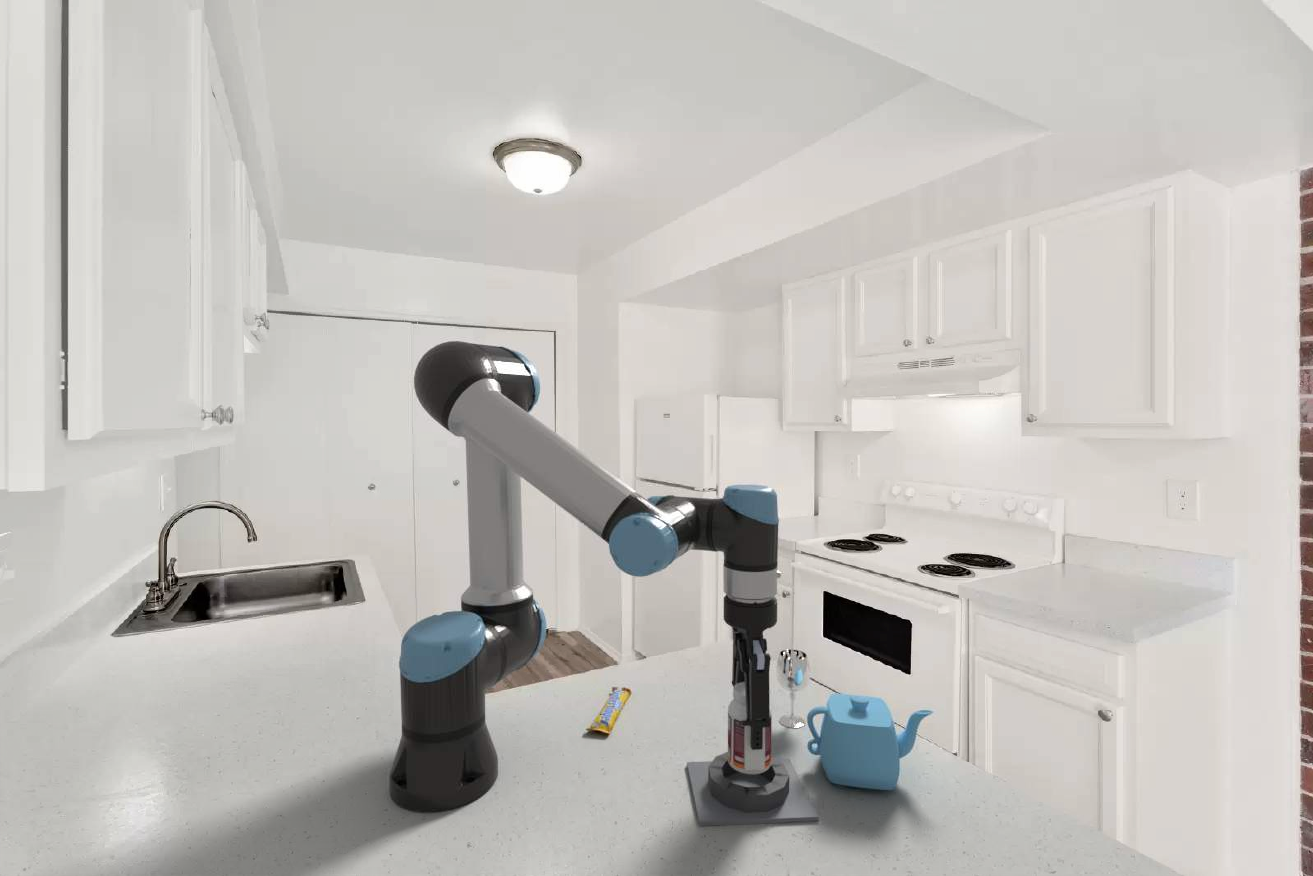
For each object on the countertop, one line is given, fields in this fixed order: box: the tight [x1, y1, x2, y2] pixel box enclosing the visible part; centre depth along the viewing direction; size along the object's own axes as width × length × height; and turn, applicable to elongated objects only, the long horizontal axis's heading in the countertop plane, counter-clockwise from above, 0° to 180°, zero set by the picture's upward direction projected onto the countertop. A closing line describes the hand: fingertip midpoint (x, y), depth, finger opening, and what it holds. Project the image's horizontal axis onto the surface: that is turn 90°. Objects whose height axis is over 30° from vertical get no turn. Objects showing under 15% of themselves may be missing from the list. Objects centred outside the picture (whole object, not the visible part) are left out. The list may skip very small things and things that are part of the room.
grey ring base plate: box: [686, 751, 819, 827], centre depth 91 cm, size 16×14×3 cm
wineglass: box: [775, 648, 811, 729], centre depth 111 cm, size 6×6×12 cm
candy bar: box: [585, 686, 632, 735], centre depth 115 cm, size 17×4×2 cm, turn 168°
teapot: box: [806, 693, 934, 791], centre depth 96 cm, size 12×18×12 cm
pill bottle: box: [727, 682, 773, 775], centre depth 91 cm, size 6×6×11 cm
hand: (749, 754), depth 91 cm, fingers closed on pill bottle, 6 cm apart
